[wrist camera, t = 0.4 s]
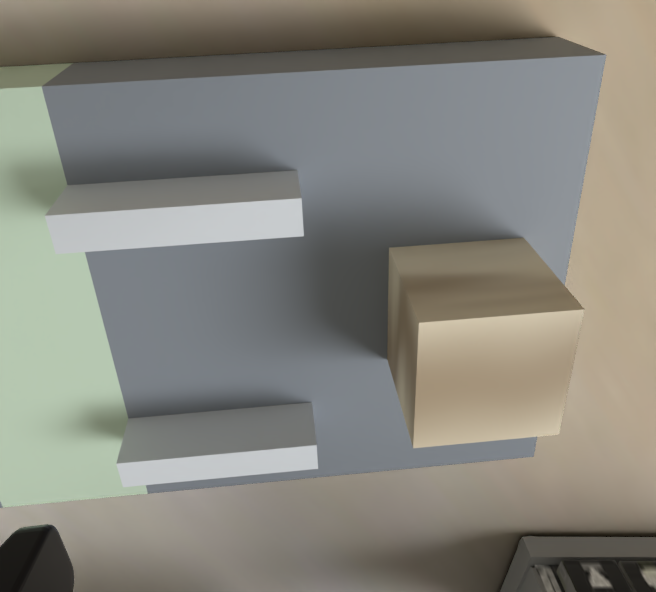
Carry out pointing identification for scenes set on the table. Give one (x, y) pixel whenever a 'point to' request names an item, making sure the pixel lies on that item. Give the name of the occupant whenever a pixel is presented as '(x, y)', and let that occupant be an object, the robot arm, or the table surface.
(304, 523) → the table surface
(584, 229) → the table surface
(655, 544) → the cassette tape recorder
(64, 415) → the grey piece
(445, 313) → the birch block
